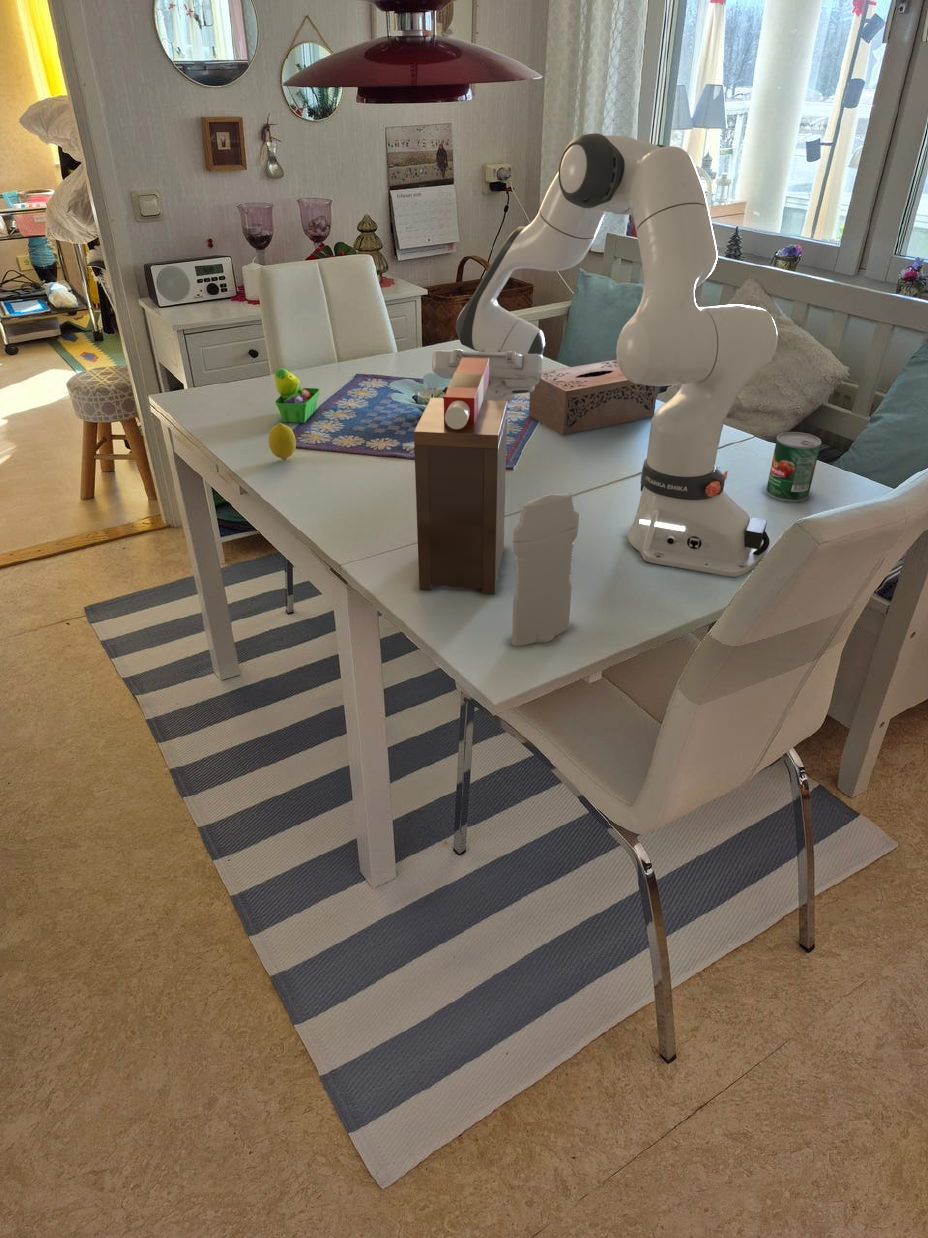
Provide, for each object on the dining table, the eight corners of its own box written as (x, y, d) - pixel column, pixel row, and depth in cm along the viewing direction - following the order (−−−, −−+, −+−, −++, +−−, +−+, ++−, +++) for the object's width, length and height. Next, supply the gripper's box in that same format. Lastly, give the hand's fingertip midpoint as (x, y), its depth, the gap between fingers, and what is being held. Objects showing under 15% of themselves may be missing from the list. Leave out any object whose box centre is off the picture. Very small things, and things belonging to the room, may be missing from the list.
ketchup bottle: (472, 432, 121) (472, 404, 118) (440, 431, 121) (439, 403, 119) (489, 382, 140) (489, 358, 138) (461, 381, 140) (461, 357, 138)
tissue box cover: (616, 399, 213) (620, 358, 208) (653, 416, 203) (659, 374, 197) (528, 415, 203) (530, 373, 198) (562, 435, 192) (565, 391, 187)
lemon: (292, 465, 178) (287, 428, 173) (267, 463, 179) (262, 426, 174) (301, 455, 182) (297, 419, 178) (277, 454, 183) (272, 417, 179)
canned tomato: (757, 492, 166) (768, 438, 160) (780, 481, 170) (791, 428, 164) (794, 505, 161) (806, 450, 155) (816, 494, 165) (829, 440, 159)
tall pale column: (562, 618, 128) (571, 481, 116) (578, 631, 125) (590, 492, 113) (502, 638, 123) (505, 498, 112) (517, 652, 120) (523, 509, 109)
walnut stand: (434, 545, 148) (430, 397, 134) (503, 549, 146) (507, 400, 132) (419, 589, 135) (413, 431, 121) (494, 594, 134) (498, 435, 120)
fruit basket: (308, 425, 198) (303, 376, 192) (271, 423, 199) (265, 374, 193) (322, 409, 207) (318, 362, 201) (287, 407, 209) (282, 360, 202)
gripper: (438, 354, 165) (426, 334, 151) (544, 358, 163) (542, 338, 149) (435, 388, 165) (424, 370, 151) (542, 392, 163) (540, 375, 149)
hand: (484, 354), depth 150 cm, fingers open, 8 cm apart
